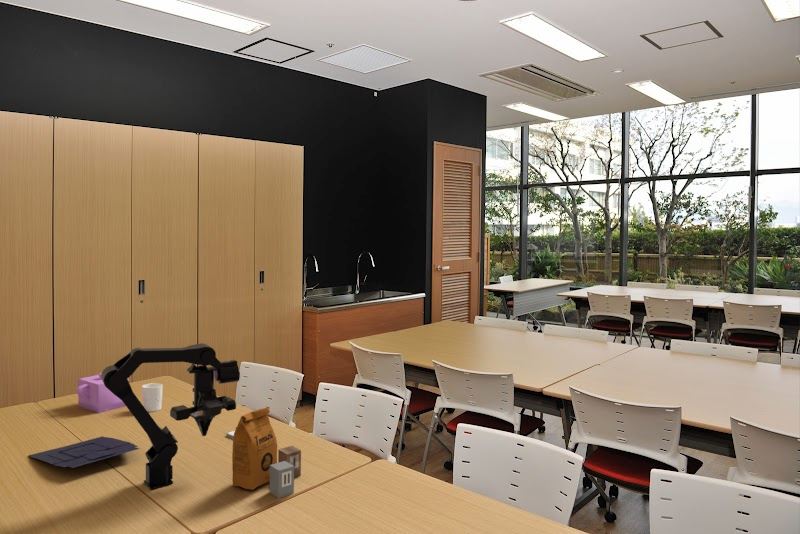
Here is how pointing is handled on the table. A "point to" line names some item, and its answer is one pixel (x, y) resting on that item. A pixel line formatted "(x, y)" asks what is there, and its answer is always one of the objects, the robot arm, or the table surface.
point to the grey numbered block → (281, 479)
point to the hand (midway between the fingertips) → (203, 435)
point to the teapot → (96, 395)
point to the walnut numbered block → (291, 458)
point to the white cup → (152, 396)
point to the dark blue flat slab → (85, 452)
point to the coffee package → (253, 450)
